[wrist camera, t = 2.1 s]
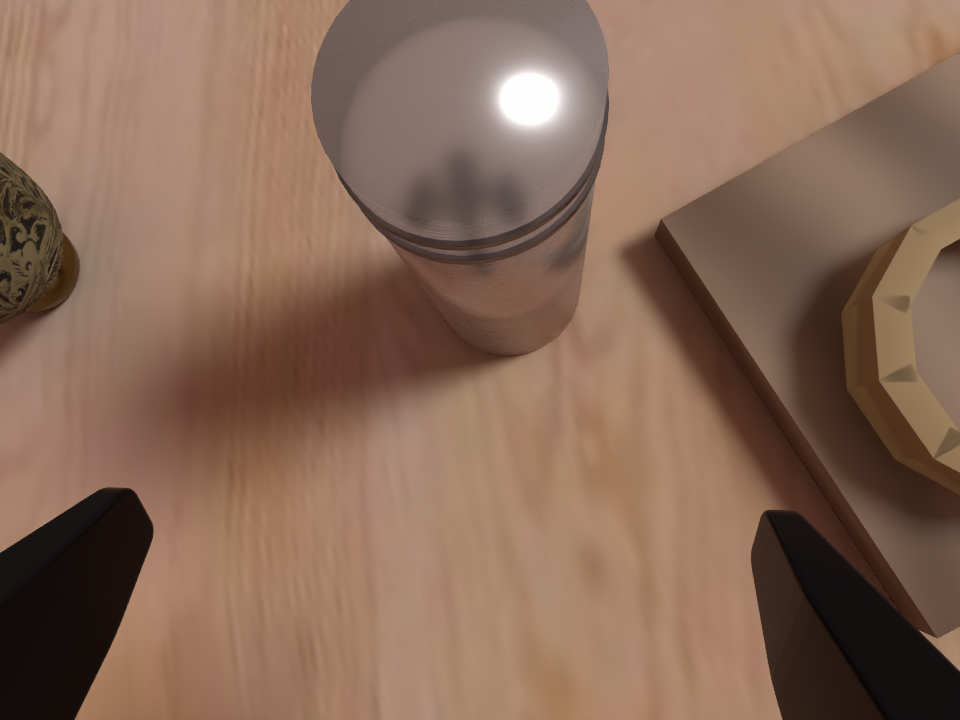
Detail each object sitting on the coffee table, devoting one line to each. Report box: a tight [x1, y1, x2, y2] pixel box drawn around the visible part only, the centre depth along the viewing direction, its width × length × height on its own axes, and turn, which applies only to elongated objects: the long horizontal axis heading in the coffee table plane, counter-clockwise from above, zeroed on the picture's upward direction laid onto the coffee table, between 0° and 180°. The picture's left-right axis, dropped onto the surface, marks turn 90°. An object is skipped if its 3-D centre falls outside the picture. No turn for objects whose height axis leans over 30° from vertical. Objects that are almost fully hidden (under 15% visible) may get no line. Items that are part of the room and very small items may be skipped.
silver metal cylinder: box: [311, 0, 609, 356], centre depth 17 cm, size 5×5×12 cm
